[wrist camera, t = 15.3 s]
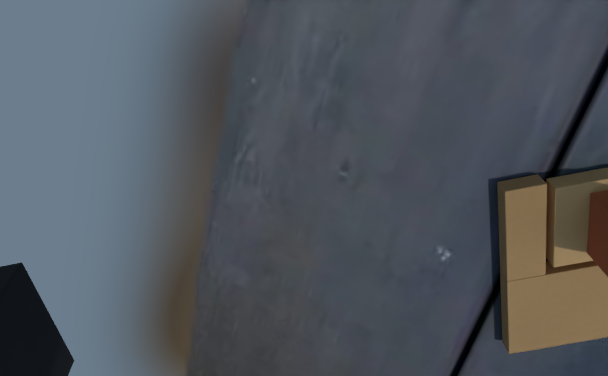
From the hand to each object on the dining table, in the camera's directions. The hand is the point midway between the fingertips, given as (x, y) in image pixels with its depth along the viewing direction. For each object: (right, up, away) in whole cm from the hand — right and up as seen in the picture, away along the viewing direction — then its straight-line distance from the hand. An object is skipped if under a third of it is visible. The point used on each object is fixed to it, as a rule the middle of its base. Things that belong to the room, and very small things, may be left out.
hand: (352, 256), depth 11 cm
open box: (+24, -1, +36) cm, 43 cm away
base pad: (+25, -4, +38) cm, 45 cm away
